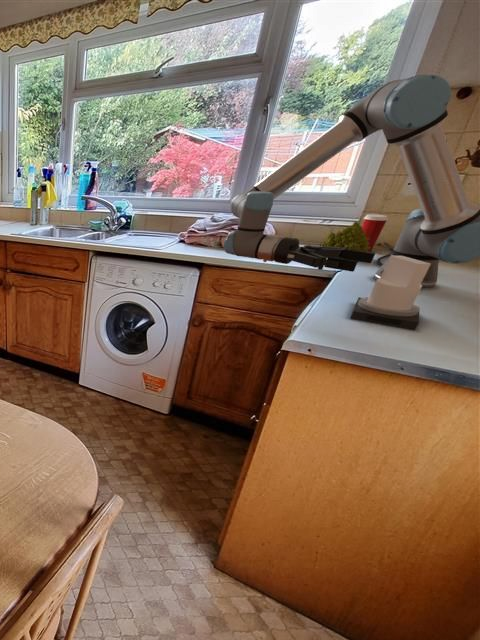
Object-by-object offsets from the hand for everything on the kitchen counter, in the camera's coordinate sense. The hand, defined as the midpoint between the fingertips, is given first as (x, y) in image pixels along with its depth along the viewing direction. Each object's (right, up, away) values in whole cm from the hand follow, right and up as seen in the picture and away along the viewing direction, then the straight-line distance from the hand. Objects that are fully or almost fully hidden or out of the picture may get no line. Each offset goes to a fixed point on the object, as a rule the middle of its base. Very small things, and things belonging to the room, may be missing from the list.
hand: (364, 262), depth 118 cm
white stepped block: (+5, -12, -2) cm, 13 cm away
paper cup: (+60, +24, +66) cm, 93 cm away
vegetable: (+43, +18, +57) cm, 73 cm away
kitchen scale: (+5, -15, 0) cm, 16 cm away
